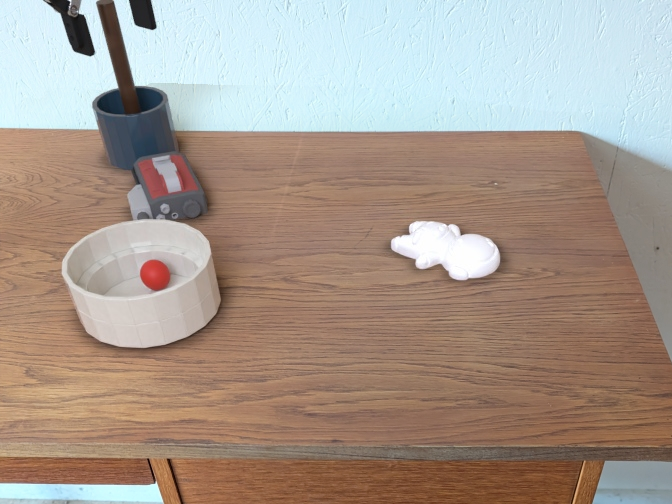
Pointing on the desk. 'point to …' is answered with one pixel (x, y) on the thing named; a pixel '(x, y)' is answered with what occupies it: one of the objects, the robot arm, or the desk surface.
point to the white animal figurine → (448, 249)
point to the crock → (135, 126)
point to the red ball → (155, 274)
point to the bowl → (130, 292)
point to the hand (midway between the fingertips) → (116, 40)
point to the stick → (118, 56)
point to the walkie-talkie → (165, 188)
